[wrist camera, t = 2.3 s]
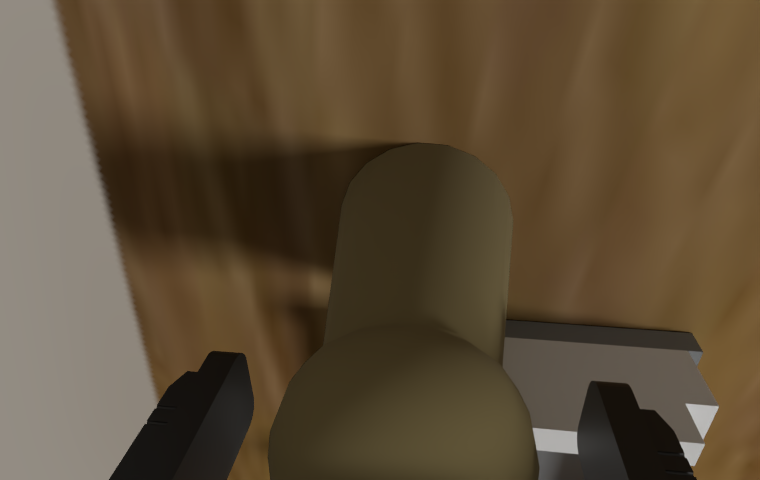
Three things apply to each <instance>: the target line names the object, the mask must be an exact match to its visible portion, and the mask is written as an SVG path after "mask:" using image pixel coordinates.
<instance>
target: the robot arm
mask: <svg viewBox="0 0 760 480" xmlns="http://www.w3.org/2000/svg"><path fill="white" fill-rule="evenodd" d="M253 410H254V397H253V391H252V386H251V381H250V376H249V370H248V365H247V360H246V357H245V355H244V354H243V353H234V352H220V351H212V352H210V353H209V354H208V356H207V357H206V359H205V361H204V362H203V364H202V366H201V367H200V369H199V371H198V372H191V371H187V372H186V373H185V374H184V375H182V376H181V377H180V378H179V379H178V380H176V381H175V382H174V383H173V384H172V385H170V386H169V387H168V389H167V390H166V392H165V394H164V395H163V397H162V398H161V400H160V401H159V403H158V404H157V408H156V409H154V411H153V412H152V414H151V415H150V417H149V418H148V420H147V424H145V425H144V426H143V428H142V429H141V431H140V433H139V434H138V436H137V437H136V439H135V440H134V442H133V443H132V445H131V446H130V448H129V449H128V451H127V452H126V454H125V456H124V457H123V459H122V460H121V462H120V463H119V465H118V466H117V468H116V470H115V471H114V473H113V474H112V476H111V477H110V479H109V480H227V478H228V476H229V473H230V471H231V468H232V466H233V464H234V461H235V459H236V457H237V454H238V452H239V450H240V447H241V445H242V442H243V440H244V438H245V435H246V433H247V431H248V428H249V426H250V423H251V420H252V416H253ZM577 448H578V455H579V459H580V463H581V467H582V471H583V475H584V479H585V480H697V479H696V477H694V476H693V470H692V468H691V466H690V464H689V462H688V460H687V458H685V456H684V454H685V453H684V451H683V449H682V447H681V445H680V442H679V440H678V438H677V436H676V434H675V432H674V430H673V429H672V428H671V427H670V426H669V425H668V424H667V423H666V421H665V420H664V419H663V418H662V417H661V416H660V415H659V414H658V413H657V412H656V411H655V410H648V409H640V408H639V405H638V403H637V400H636V398H635V396H634V393H633V391H632V389H631V387H630V385H629V384H627V383H616V382H603V381H591V382H590V384H589V386H588V390H587V394H586V397H585V401H584V405H583V409H582V413H581V417H580V421H579V424H578V430H577Z"/></svg>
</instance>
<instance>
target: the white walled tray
mask: <svg viewBox="0 0 760 480" xmlns="http://www.w3.org/2000/svg"><path fill="white" fill-rule="evenodd" d="M702 353H703V351H702V349H701V348H700V346H699V344H698V343H697V341H696V339H695V338H694V336H693V334H692V333H683V332H668V331H654V330H640V329H626V328H612V327H598V326H584V325H570V324H556V323H542V322H528V321H514V320H506V326H505V340H504V353H503V369H504V370H505V372H506V373H507V374H508V376H509V377H510V379H511V380H512V382H513V383H514V384H515V386H516V387H517V389H518V390H519V392H520V394H521V396H522V398H523V400H524V402H525V404H526V406H527V408H528V410H529V412H530V417H531V423H532V428H533V433H534V438H535V444H536V449H537V455H538V461H539V466H540V470H539V478H538V480H585V479H584V475H583V471H582V467H581V463H580V459H579V455H578V448H577V430H578V424H579V421H580V417H581V413H582V409H583V405H584V401H585V397H586V394H587V390H588V386H589V384H590V382H591V381H603V382H616V383H627V384H629V385H630V387H631V389H632V391H633V393H634V396H635V398H636V400H637V403H638V405H639V408H640V409H648V410H655V411H656V412H657V413H658V414H659V415H660V416H661V417H662V418H663V419H664V420H665V421H666V423H667V424H668V425H669V426H670V427H671V428H672V429H673V430H674V432H675V434H676V436H677V438H678V440H679V442H680V445H681V447H682V449H683V451H684V453H685V454H684V456H685V458H687V460H688V462H689V464H690V466H691V465H692V466H695V464H696V462H697V460H698V458H699V456H700V454H701V451H702V449H703V447H704V445H705V443H704V441H703V439H704V437H705V435H706V433H707V431H708V429H709V426H710V424H711V422H712V420H713V418H714V416H715V414H716V412H717V410H718V408H719V405H718V404H717V402H716V400H715V398H714V396H713V395H712V393H711V391H710V389H709V387H708V386H707V384H706V382H705V380H704V379H703V377H702V375H701V373H700V371H699V370H698V368H697V365H698V363H699V360H700V358H701V356H702Z"/></svg>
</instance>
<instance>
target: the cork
mask: <svg viewBox="0 0 760 480" xmlns="http://www.w3.org/2000/svg"><path fill="white" fill-rule="evenodd" d="M512 231H513V217H512V211H511V205H510V199H509V196H508V194H507V192H506V191H505V189H504V187H503V186H502V184H501V182H500V180H499V179H498V177H497V175H496V174H495V173H494V172H493V171H491V170H490V169H489V168H488V167H487V166H486V165H484V164H483V163H482V162H481V161H480V160H478V159H477V158H476V157H475V156H473V155H470V154H468V153H465V152H463V151H460V150H458V149H455V148H453V147H451V146H448V145H437V144H425V143H416V144H411V145H407V146H402V147H398V148H393V149H390V150H388V151H386V152H385V153H383V154H381V155H379V156H378V157H376V158H374V159H373V160H371V161H369V162H367V163H366V164H365V166H364V167H363V168H362V169H361V170H360V171H359V173H358V174H357V175H356V176H355V177H354V178H353V180H352V181H351V182H350V184H349V187H348V189H347V192H346V195H345V197H344V200H343V203H342V206H341V214H340V221H339V229H338V236H337V244H336V252H335V259H334V267H333V274H332V282H331V290H330V297H329V305H328V312H327V320H326V327H325V335H324V343H323V346H322V347H321V348H320V349H319V350H318V351H317V352H316V353H315V354H313V355H312V356H311V357H310V358H309V359H308V360H307V361H306V362H305V363H304V364H303V365H302V367H301V368H300V369H299V371H298V372H297V373H296V374H295V376H294V377H293V378H292V380H291V381H290V382H289V385H288V387H287V390H286V392H285V395H284V397H283V400H282V402H281V405H280V407H279V410H278V412H277V415H276V417H275V420H274V423H273V425H272V428H271V430H270V438H269V450H268V463H269V471H270V480H538V478H539V470H540V466H539V461H538V455H537V449H536V444H535V438H534V433H533V428H532V423H531V417H530V412H529V410H528V408H527V406H526V404H525V402H524V400H523V398H522V396H521V394H520V392H519V390H518V389H517V387H516V386H515V384H514V383H513V382H512V380H511V379H510V377H509V376H508V374H507V373H506V372H505V370H504V369H503V353H504V340H505V326H506V313H507V299H508V285H509V272H510V258H511V244H512Z"/></svg>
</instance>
